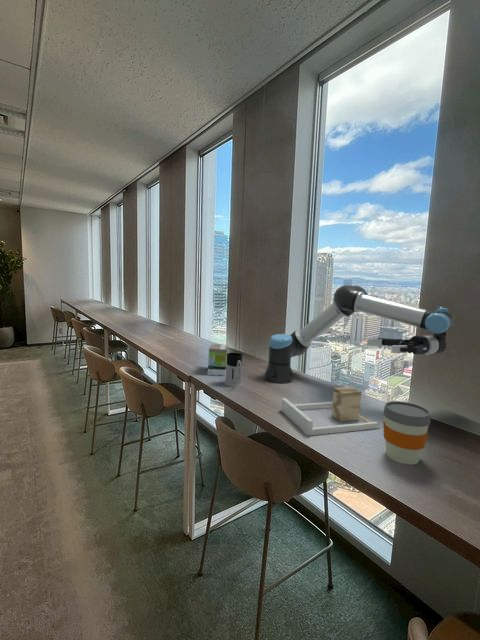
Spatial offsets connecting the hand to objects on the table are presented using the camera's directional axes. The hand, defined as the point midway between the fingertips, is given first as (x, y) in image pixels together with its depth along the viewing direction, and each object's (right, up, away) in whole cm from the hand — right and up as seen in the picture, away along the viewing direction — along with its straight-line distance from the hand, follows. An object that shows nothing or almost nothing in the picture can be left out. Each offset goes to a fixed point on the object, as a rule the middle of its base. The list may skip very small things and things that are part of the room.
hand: (379, 345), depth 126 cm
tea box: (-67, -19, +55) cm, 89 cm away
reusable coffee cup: (-5, -31, -28) cm, 42 cm away
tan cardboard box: (-13, -28, 0) cm, 31 cm away
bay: (-21, -28, -3) cm, 35 cm away
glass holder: (-57, -22, +32) cm, 69 cm away
